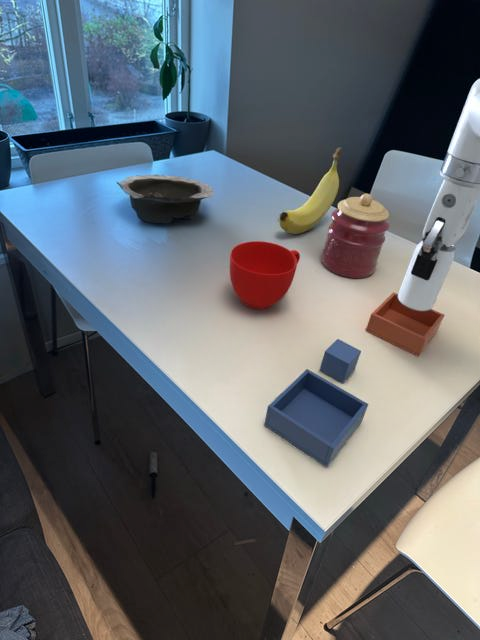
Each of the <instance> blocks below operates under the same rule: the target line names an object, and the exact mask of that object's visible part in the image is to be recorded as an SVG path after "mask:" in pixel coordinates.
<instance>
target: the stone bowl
mask: <svg viewBox="0 0 480 640" xmlns="http://www.w3.org/2000/svg"><path fill="white" fill-rule="evenodd" d="M116 184H117V185H118V186H119V188H120V189H121V190H122V191H123V192H124V193H125V194H126V195H128V196H129V199H130V206H131V208H132V209H133V210H134V212H135V213H136V217H137V218H138V219H139V220H141V221H144V222H147V223H151V224H157V223H160V224H169V223H171V222H172V221H173V220H174V218H175V219H185V220H192V219H194V218H195V217H196V215H197V214H198V211H199V208H200V205H201V201H202V200H204V199H207V198H211V197H213V196H214V195H215V193H214V191H213V188H212V187H211V186H210V185H209V184H207V183H206V182H202V181H200V180H196V179H191V178H187V177H182V176H176V175H164V174H143V175H142V174H139V175H132V176H128V177H126V178H125V179H123V180H121V181H116Z"/></svg>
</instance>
